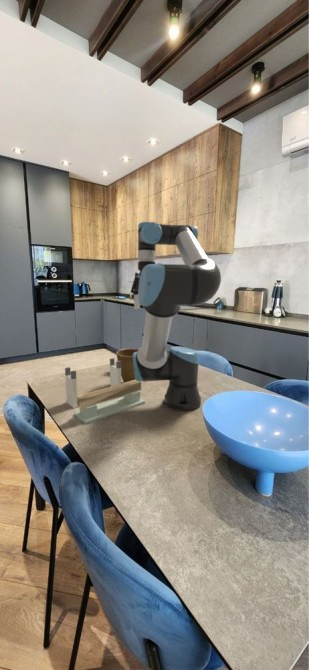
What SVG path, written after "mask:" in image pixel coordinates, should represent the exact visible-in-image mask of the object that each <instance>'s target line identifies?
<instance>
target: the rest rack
mask: <svg viewBox="0 0 309 670" xmlns="http://www.w3.org/2000/svg"><path fill="white" fill-rule="evenodd" d="M144 404H146V400H145V399H143V398H141V390H139V391H135V392H132V393H129V394H126V395H123V396H120V397H117V398H114V399H110V400H107V401H104V402H101V403H98V404H94V405H91V406H88V407H85V408H80V407H79V410H77V411H74V413H73V414H74V416H75V417H77V419H79V420H80V421H81V422H83V424H85V425H87V424H90V423H94V422H96V421H99V420H101V419H104V418H107V417H109V416H113V415H115V414H117V413H122V412H124V411H127V410H129V409H132V408H135V407H138V406H141V405H144Z"/></svg>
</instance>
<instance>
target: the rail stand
mask: <svg viewBox="0 0 309 670" xmlns="http://www.w3.org/2000/svg"><path fill="white" fill-rule="evenodd" d="M64 374H65V393H66V399H65V403H66V404H67V405H68V406H70V407H71V408H72V409H76V408H80V407H79V406H78V405H77V396H78V389H77V388H78V383H77V371H76V370H72V371H71V367H69V366H68V367H65V368H64ZM109 378H110V379H109V383H110V384H109V385H110V386H109V387H111V386H115V385H118V384H122V377H121V361H118V360H117V361H116V362H115V358H114V357H113V358H109Z"/></svg>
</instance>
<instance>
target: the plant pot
mask: <svg viewBox="0 0 309 670" xmlns="http://www.w3.org/2000/svg"><path fill="white" fill-rule="evenodd" d="M123 349H124V350H121V349H120V350H117V352H116V359H117V361H121V380H122V383H125V382H129V381H132V380H136V379H135V374H134V365H133V353H134V352H138V350H139V348H138V349H137V348H123ZM140 382H141V383H142V381H140Z"/></svg>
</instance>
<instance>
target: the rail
mask: <svg viewBox="0 0 309 670" xmlns="http://www.w3.org/2000/svg"><path fill="white" fill-rule="evenodd" d="M141 390H142V381H141V382H140V381H137V380H132V381H129V382H125V383H124V382H121V384H118V385H115V386H111V387H110V386H109V387H108V386H107V387H104V388H101V389H97V390H94V391H91V392H86V393H83V394H80V395H77V405H78V406H79V407H78V408H79V409H80V408H85V407H88V406H91V405H94V404H96V405H98V404H101V403H105V402H108V401H111V400H114V399H117V398H121V397H124V395H126V394H129V393H132V392H135V391H141Z"/></svg>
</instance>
